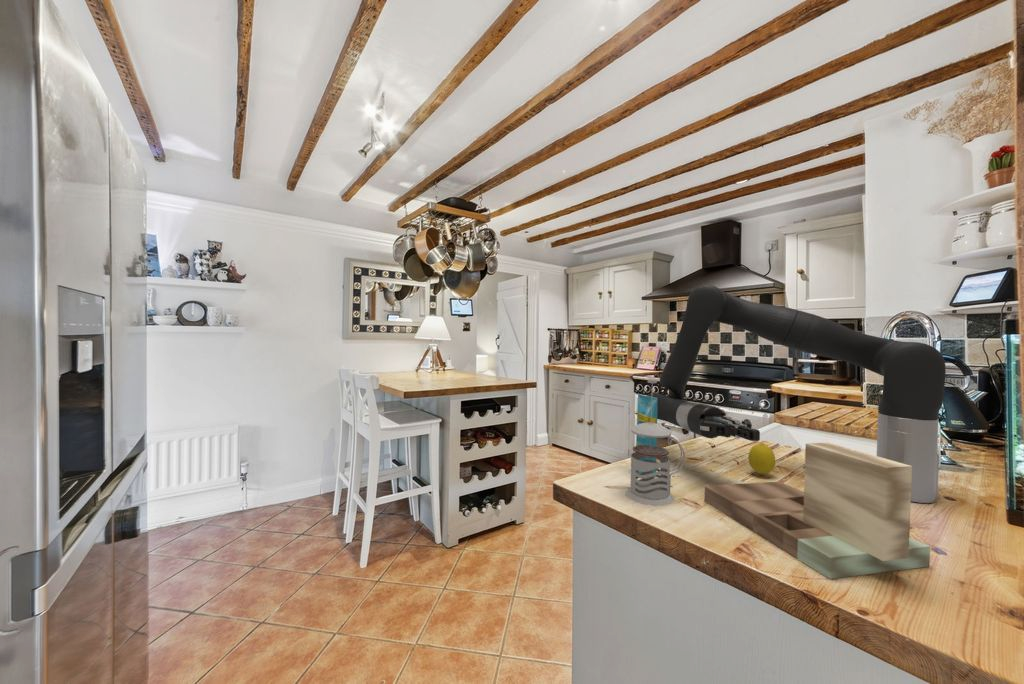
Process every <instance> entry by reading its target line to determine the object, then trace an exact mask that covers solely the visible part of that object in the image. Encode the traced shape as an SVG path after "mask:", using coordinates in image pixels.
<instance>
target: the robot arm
mask: <svg viewBox="0 0 1024 684" xmlns="http://www.w3.org/2000/svg"><path fill="white" fill-rule="evenodd" d="M714 322H715V323H720V324H725V325H728V326H729V325H730V326H732V327H736V328H739V329H742V330H744V331H747V332H749V333H751V334H753V335H756V336H758V337H760V338H762V339H765V340H767V341H769V342H771V343H774V344H777V345H780V346H783V347H786V348H789V349H792V350H796V351H800V352H802V353H807V354H810V355H814V356H820V357H822V358H823V357H824V358H828V359H829V358H830V359H832V360H833V359H835V360H839V361H843V362H847V363H850V364H852V365H856V366H857V367H861V368H863V369H866V370H868V371H871V372H873V373H875V374H876V375H877V374H878V375H880V376H882V377H883V383H882V386H883V387H882V394H881V397H880V399H879V401H878V405H877V407H878V408H877V431H876V432H877V435H876V437H877V438H876V456H878V457H881V458H885V459H888V460H892V461H896V462H899V463H903V464H906V465H910V466H912V482H911V502H914V503H923V504H930V503H932V504H933V503H935V502H936V500H937V499H938V498H939V497H938V495H939V493H938V492H939V476H940V475H939V471H940V470H939V469H940V455H939V454H938V444H939V443H938V440H939V439H938V438H939V434H938V433H939V418H940V417H939V414H940V410H941V409H942V407H943V404H944V397H945V385H946V360H945V358H944V355H943V354H942V353H941V352H940V350H938V349H937V348H936V347H934V346H932V345H930V344H927V343H924V342H916V341H903V340H902V341H900V340H894V339H890V338H889V339H888V338H883V337H880V336H874V335H870V334H866V333H862V332H859V331H857V330H854V329H852V328H849V327H847V326H845V325H843V324H840V323H838V322H836V321H834V320H830V319H828V318H825V317H822V316H820V315H817V314H815V313H809V312H806V311H804V310H803V311H802V310H798V309H795V308H790V307H787V306H781V305H775V304H768V303H761V302H754V301H751V300H750V301H749V300H746V299H743V298H741V297H738V296H735V295H732V294H730V293H727V292H725V291H723V290H722V289H720V287H718V286H715V285H713V284H704V285H703V284H702V285H700V286H697V287H696V288H694V289H693V290H692V291H691V293H690V294H689V296H688V298H687V303H686V308H685V312H684V316H683V320H682V324H681V326H680V330H679V333H678V336H677V338H676V341H675V342H674V346H673V347H672V349H671V352H670V354H669V357H668V359H667V360H666V362H665V363H666V364H665V365H664V367H663V370H662V373H661V374H660V378H659V384H660V386H662V387H664V388H666V389H667V390H668V395H665V394H664V395H663V394H661V393H658V392H653V395H652V392H651V393H649V394H647V395H646V396H649V397H655V398H657V420H661V421H663V422H667V423H670V424H673V425H674V426H675V427H680V428H682V429H685V430H686V431H688V432H690V433H693V434H695V435H699V436H701V437H704V438H707V439H716V438H718V437H722V438H723V437H724V438H726V439H728V438H731V437H732V438H735V439H738V438H742V439H743V440H748V441H750V442H758V441H760V439H761V435H760V434H761V432H760V430H758V429H756V428H753V425H752V424H753V423H752V422H751V420H750V419H748V418H746V419H742V420H739V419H735V418H732V417H731V416H728V415H725V413H724V411H723V410H722V409H720V408H719V407H717V406H713V405H708V404H705V403H701V402H697V401H696V402H695V401H688V400H686V399H685V390H686V387H687V384H688V382H689V379H690V377H691V375H692V373H693V370H694V369H695V365H696V362H697V359H698V356H699V353H700V350H701V348H702V344H703V341H704V339H705V337H706V334H707V333H708V331H709V330H710V327H711V326H712V325H713V324H714Z"/></svg>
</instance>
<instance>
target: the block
mask: <svg viewBox="0 0 1024 684" xmlns="http://www.w3.org/2000/svg"><path fill="white" fill-rule="evenodd" d="M804 452H805V453H804V454H805V455H804V456H805V458H804V483H803V484H804V485H803V492H804V510H803V521H805V522H807V523H809V524H811V525H813V526H815V527H817V528H819V529H821V530H823V531H825V532H827V533H829V534H831V535H833V536H835V537H837V538H839V539H841V540H843V541H845V542H847V543H849V544H850V545H852V546H854V547H856V548H858V549H860V550H862V551H864V552H866V553H868V554H870V555H872V556H874V557H876V558H878V559H880V560H882V561H888V560H896V559H905V558H909V538H910V532H911V506H912V505H911V504H912V503H911V502H912V501H911V482H912V466H910V465H906V464H903V463H899V462H896V461H892V460H888V459H885V458H881V457H878V456H877V455H874V454H871V453H868V452H863V451H860V450H856V449H851V448H849V447H844V446H841V445H838V444H834V443H831V442H811V443H810V442H809V443H805V451H804Z"/></svg>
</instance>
